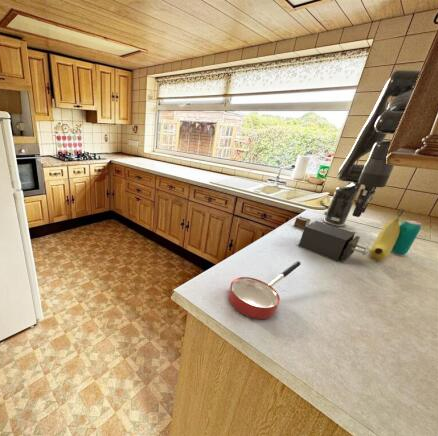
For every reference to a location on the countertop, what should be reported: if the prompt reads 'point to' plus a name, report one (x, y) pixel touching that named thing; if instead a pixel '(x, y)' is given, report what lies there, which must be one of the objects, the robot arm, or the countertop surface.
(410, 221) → the beverage can
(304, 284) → the countertop surface
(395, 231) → the banana
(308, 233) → the block
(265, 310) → the frying pan
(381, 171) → the robot arm
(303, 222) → the block
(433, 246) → the countertop surface
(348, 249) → the basket
